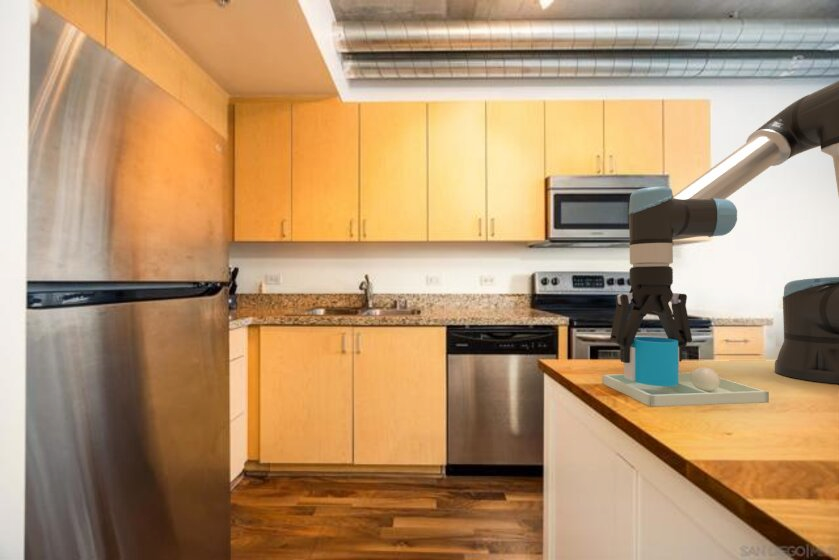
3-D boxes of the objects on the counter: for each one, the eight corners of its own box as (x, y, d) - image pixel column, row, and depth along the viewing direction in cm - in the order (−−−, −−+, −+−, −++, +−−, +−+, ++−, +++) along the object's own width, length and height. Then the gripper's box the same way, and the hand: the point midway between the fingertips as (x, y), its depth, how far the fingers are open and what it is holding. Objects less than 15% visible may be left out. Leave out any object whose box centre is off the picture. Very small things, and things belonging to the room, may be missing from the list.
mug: (674, 388, 72) (674, 344, 72) (625, 381, 78) (625, 340, 78) (685, 376, 81) (685, 337, 81) (641, 370, 87) (640, 333, 87)
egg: (706, 387, 83) (706, 364, 83) (726, 393, 78) (726, 369, 78) (685, 388, 83) (685, 365, 83) (703, 394, 78) (703, 370, 78)
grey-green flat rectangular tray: (700, 382, 89) (700, 371, 89) (768, 405, 73) (768, 391, 73) (602, 386, 87) (602, 374, 87) (650, 409, 71) (650, 396, 71)
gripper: (685, 266, 84) (686, 372, 84) (590, 266, 82) (590, 375, 82) (715, 265, 77) (715, 381, 77) (610, 265, 75) (611, 384, 75)
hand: (651, 378), depth 79 cm, fingers closed on mug, 8 cm apart
